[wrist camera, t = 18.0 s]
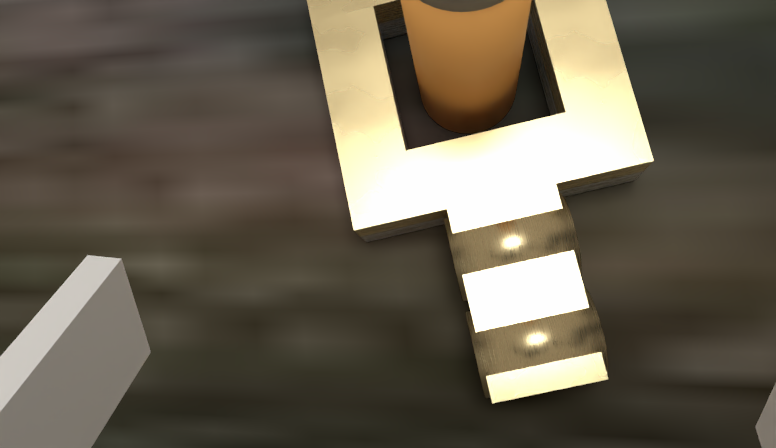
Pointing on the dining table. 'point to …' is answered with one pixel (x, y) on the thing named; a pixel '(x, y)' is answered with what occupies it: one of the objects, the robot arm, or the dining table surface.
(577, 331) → the square loop key
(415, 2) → the orange pin
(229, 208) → the dining table surface
